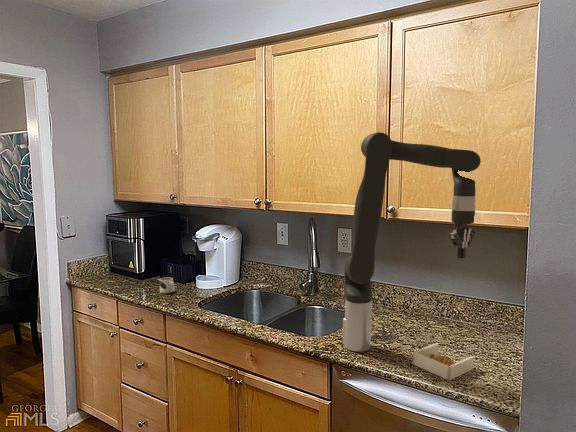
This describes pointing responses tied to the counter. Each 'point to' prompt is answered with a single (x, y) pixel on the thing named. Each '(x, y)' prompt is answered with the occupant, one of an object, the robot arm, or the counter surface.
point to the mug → (166, 285)
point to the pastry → (441, 359)
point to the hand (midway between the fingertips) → (461, 258)
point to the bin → (439, 368)
